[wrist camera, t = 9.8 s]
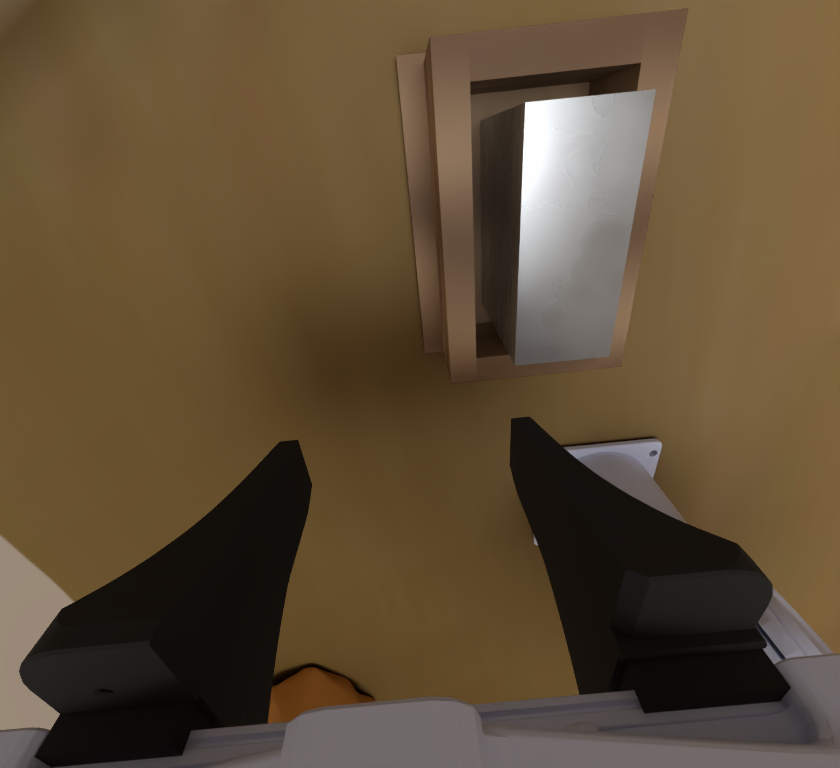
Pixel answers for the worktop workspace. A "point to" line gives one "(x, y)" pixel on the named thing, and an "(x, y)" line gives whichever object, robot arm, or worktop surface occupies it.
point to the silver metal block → (559, 220)
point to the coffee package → (311, 694)
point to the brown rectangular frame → (461, 159)
